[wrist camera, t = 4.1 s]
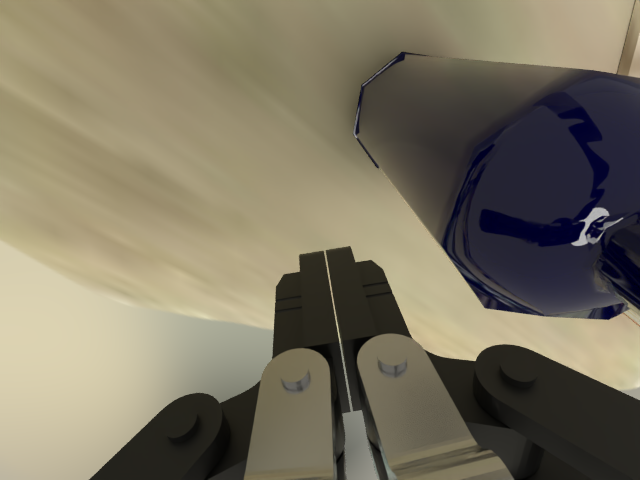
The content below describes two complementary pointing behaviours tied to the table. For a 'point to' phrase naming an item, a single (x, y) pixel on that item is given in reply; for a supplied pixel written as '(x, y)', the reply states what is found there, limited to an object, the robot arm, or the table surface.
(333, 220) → the table surface
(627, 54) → the u rest
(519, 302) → the bottle
